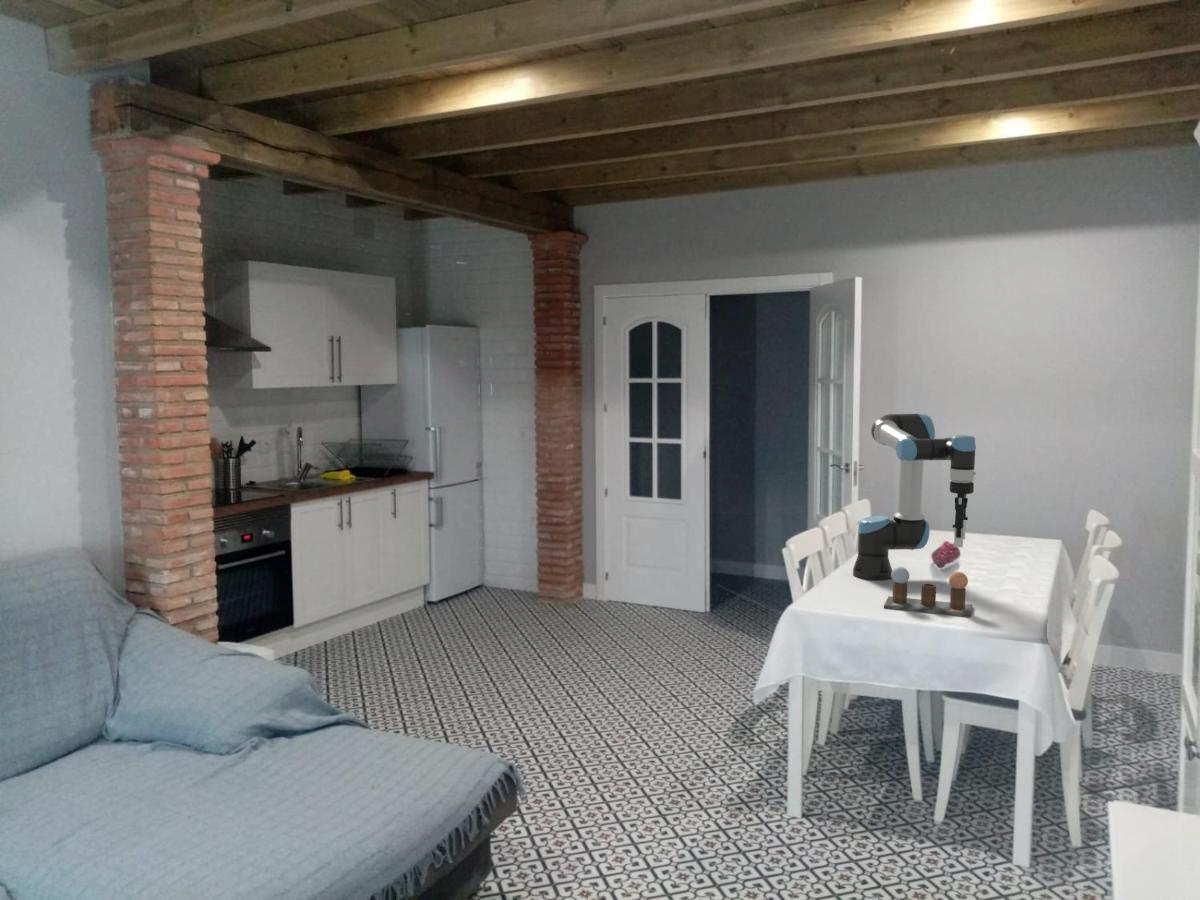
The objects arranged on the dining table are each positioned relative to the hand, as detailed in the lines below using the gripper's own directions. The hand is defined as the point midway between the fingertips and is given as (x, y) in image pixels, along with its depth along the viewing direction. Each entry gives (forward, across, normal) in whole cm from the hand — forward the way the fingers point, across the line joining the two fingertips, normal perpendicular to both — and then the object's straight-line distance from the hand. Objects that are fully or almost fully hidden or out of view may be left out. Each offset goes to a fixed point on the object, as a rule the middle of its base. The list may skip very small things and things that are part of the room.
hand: (959, 542), depth 312 cm
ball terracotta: (+16, 0, 0) cm, 16 cm away
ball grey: (+16, 0, +19) cm, 25 cm away
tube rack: (+24, 0, +9) cm, 25 cm away
